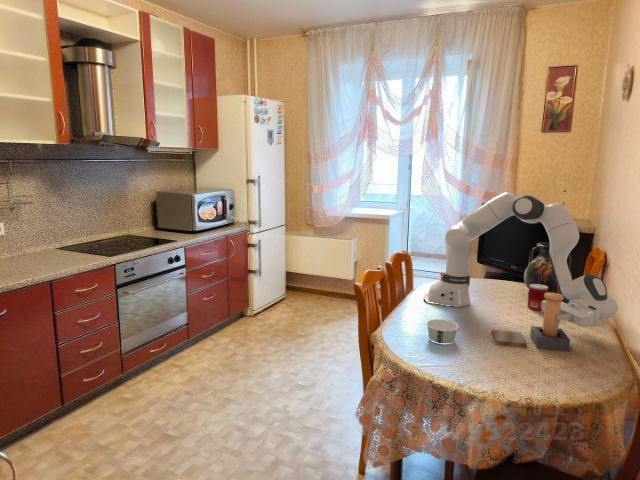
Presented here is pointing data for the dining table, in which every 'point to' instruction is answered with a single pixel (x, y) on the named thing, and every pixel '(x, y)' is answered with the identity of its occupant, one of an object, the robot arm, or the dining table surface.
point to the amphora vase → (542, 268)
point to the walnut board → (509, 338)
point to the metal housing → (549, 340)
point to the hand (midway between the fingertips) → (549, 314)
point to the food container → (442, 330)
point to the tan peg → (551, 313)
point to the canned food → (536, 296)
